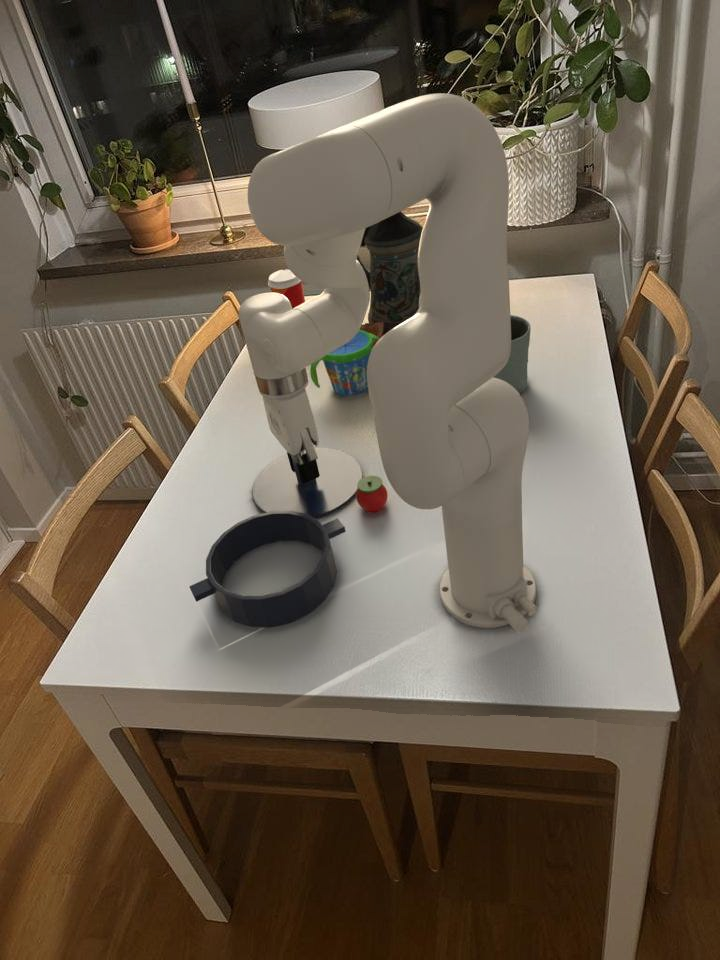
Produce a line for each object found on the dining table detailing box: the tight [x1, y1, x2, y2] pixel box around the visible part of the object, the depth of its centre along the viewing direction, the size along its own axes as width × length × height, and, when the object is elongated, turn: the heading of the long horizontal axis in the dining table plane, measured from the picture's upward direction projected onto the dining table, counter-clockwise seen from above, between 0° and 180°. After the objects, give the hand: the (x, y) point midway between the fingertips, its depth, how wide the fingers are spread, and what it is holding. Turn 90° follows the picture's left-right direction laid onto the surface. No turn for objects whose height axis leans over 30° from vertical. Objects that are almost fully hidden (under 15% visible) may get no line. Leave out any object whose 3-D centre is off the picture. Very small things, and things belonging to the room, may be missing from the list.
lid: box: [251, 447, 364, 520], centre depth 120 cm, size 18×18×7 cm
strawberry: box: [355, 475, 388, 514], centre depth 113 cm, size 5×5×6 cm
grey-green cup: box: [494, 314, 532, 395], centre depth 133 cm, size 10×10×12 cm
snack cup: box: [309, 330, 379, 397], centre depth 141 cm, size 16×11×10 cm
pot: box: [189, 511, 347, 629], centre depth 104 cm, size 17×23×6 cm
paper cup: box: [267, 268, 306, 309], centre depth 163 cm, size 8×8×14 cm
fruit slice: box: [360, 322, 385, 347], centre depth 156 cm, size 8×7×5 cm
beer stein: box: [357, 211, 424, 335], centre depth 154 cm, size 16×19×25 cm
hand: (305, 473), depth 120 cm, fingers closed on lid, 3 cm apart
